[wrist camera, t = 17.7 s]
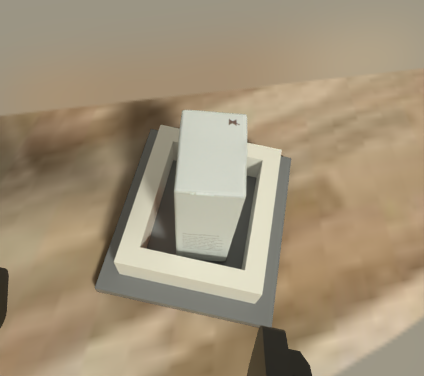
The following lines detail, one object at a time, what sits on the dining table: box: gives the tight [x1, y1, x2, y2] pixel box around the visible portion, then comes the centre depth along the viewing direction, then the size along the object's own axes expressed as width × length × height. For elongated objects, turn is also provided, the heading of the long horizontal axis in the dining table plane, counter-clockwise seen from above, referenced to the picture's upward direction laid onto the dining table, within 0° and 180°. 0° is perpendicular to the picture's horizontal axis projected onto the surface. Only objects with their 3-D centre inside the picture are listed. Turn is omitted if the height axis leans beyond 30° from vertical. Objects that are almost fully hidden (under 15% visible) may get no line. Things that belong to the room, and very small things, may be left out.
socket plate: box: [95, 125, 291, 328], centre depth 32 cm, size 14×16×4 cm
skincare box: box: [174, 110, 248, 262], centre depth 28 cm, size 6×4×12 cm
